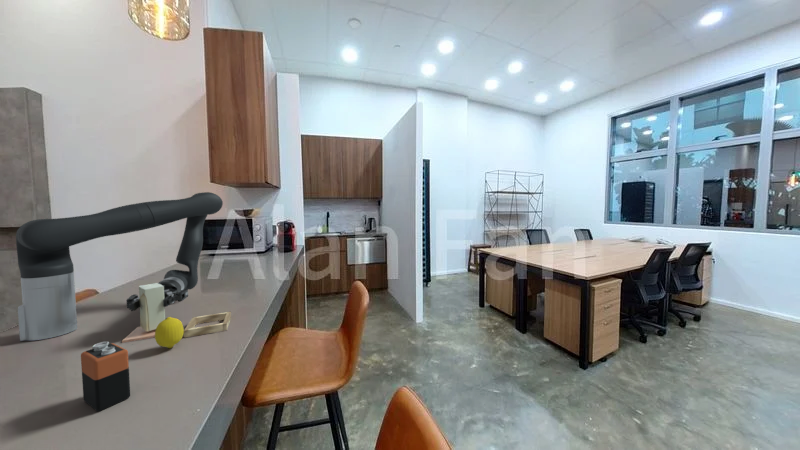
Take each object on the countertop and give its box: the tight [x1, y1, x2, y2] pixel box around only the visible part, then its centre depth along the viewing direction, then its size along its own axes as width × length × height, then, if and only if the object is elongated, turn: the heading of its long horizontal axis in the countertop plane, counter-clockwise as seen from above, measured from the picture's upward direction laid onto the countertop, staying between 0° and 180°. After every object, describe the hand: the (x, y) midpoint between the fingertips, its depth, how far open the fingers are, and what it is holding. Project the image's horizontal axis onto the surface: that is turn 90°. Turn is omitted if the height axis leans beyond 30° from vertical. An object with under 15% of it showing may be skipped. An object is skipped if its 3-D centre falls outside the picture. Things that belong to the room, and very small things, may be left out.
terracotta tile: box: [121, 326, 156, 344], centre depth 78 cm, size 10×10×1 cm
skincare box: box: [138, 282, 166, 332], centre depth 77 cm, size 6×4×12 cm
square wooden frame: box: [183, 311, 232, 339], centre depth 80 cm, size 10×11×2 cm
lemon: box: [154, 316, 185, 349], centre depth 68 cm, size 6×6×8 cm
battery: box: [80, 341, 131, 412], centre depth 49 cm, size 4×7×10 cm, turn 63°
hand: (149, 305), depth 75 cm, fingers closed on skincare box, 6 cm apart
